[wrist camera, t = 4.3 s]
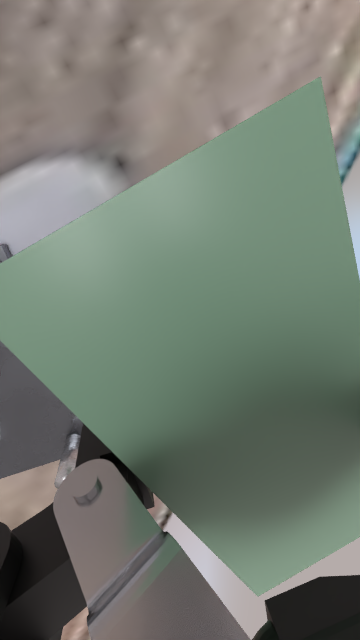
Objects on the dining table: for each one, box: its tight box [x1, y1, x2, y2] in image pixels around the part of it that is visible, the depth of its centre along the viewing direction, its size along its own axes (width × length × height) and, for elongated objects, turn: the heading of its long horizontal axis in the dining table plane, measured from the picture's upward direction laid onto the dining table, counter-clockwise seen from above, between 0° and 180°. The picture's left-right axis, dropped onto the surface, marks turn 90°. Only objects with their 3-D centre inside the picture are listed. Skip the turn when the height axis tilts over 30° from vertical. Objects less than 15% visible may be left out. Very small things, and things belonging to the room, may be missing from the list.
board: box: [0, 76, 360, 596], centre depth 8 cm, size 12×6×5 cm, turn 28°
